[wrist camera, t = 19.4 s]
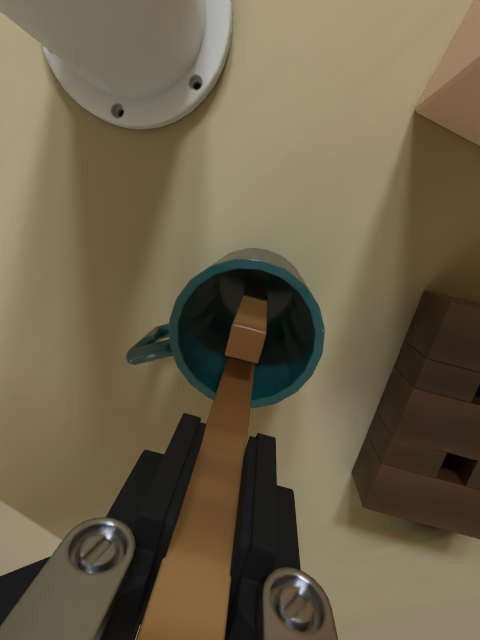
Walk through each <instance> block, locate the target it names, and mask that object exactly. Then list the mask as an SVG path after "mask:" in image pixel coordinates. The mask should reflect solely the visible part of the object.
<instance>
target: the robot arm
mask: <svg viewBox="0 0 480 640" xmlns="http://www.w3.org/2000/svg"><path fill="white" fill-rule="evenodd" d="M0 11H1V12H2V13H3V14H4V15H6V16H7V17H8V18H9V19H11V20H12V21H13V22H15V23H16V24H17V25H18V26H20V27H21V28H22V29H23V30H25V31H26V32H27V33H28V34H30V35H31V36H32V37H33V38H35V39H36V40H37V41H38V42H40V43H41V45H42V48H43V51H44V54H45V57H46V59H47V61H48V63H49V65H50V67H51V69H52V71H53V73H54V75H55V77H56V78H57V79H58V81H59V82H60V84H61V85H62V86H63V88H64V89H65V90H66V92H67V93H68V94H69V95H70V96H71V97H72V98H73V99H74V100H75V101H76V102H77V103H78V104H79V105H81V106H82V107H83V108H85V109H86V110H88V111H89V112H91V113H92V114H94V115H95V116H97V117H99V118H101V119H103V120H104V121H106V122H108V123H111V124H114V125H117V126H120V127H123V128H130V129H140V130H144V129H152V128H159V127H162V126H165V125H168V124H171V123H174V122H176V121H178V120H179V119H181V118H183V117H184V116H186V115H188V114H189V113H191V112H192V111H193V110H194V109H195V108H196V107H197V106H198V105H199V104H200V103H201V102H203V101H204V99H205V98H206V97H207V95H208V94H209V93H210V91H211V90H212V89H213V87H214V86H215V84H216V82H217V80H218V78H219V76H220V74H221V72H222V70H223V68H224V65H225V62H226V59H227V55H228V52H229V49H230V43H231V35H232V27H233V17H232V0H0ZM196 84H201V88H200V89H198V90H195V89H194V87H195V85H196ZM121 111H124V114H123V116H122V117H120V112H121ZM200 420H201V418H200V417H197V416H193V415H189V414H186V413H184V414H183V416H182V418H181V420H180V422H179V424H178V426H177V428H176V431H175V433H174V435H173V437H172V439H171V441H170V444H169V446H168V448H167V450H166V452H165V454H160V453H156V452H153V451H149V450H144V451H143V453H142V454H141V456H140V458H139V459H138V461H137V463H136V465H135V466H134V468H133V470H132V472H131V474H130V475H129V477H128V479H127V481H126V482H125V484H124V486H123V488H122V489H121V491H120V493H119V495H118V496H117V498H116V500H115V502H114V504H113V505H112V507H111V509H110V511H109V512H108V514H107V516H106V517H101V518H93V519H90V520H87V521H84V522H82V523H80V524H79V525H77V526H75V527H74V528H73V529H72V530H71V531H70V532H69V533H68V534H67V535H66V537H65V538H64V539H63V541H62V542H61V543H60V545H59V546H58V548H57V549H56V550H55V552H54V553H53V555H52V556H50V557H48V558H45V559H43V560H40V561H38V562H36V563H33V564H30V565H28V566H25V567H23V568H20V569H18V570H15V571H13V572H10V573H8V574H5V575H3V576H0V640H135V638H136V635H137V632H138V629H139V626H140V625H141V623H142V620H143V617H144V614H145V611H146V607H147V604H148V601H149V598H150V595H151V592H152V589H153V586H154V583H155V580H156V577H157V574H158V571H159V568H160V564H161V561H162V559H163V558H165V557H166V554H167V551H168V548H169V545H170V542H171V539H172V535H173V532H174V529H175V526H176V523H177V520H178V517H179V513H180V510H181V507H182V504H183V501H184V498H185V494H186V491H187V488H188V485H189V482H190V479H191V476H192V472H193V469H194V466H195V463H196V460H197V457H198V454H199V450H200V447H201V444H202V440H203V436H204V432H205V428H206V424H204V423H200ZM230 576H231V578H232V579H231V588H230V597H229V606H228V616H227V625H226V634H225V640H338V637H337V632H336V627H335V622H334V617H333V612H332V608H331V605H330V602H329V599H328V597H327V595H326V594H325V592H324V590H323V589H322V587H321V586H320V585H319V584H318V583H317V582H316V581H315V580H314V579H313V578H312V577H310V576H309V575H308V574H306V573H305V572H303V571H301V570H300V559H299V547H298V535H297V524H296V512H295V501H294V492H293V490H292V489H289V488H285V487H281V486H278V485H277V476H276V439H275V438H274V437H271V436H267V435H263V434H260V433H258V434H257V436H256V437H252V436H250V437H249V440H248V443H247V447H246V450H245V454H244V457H243V465H242V474H241V482H240V491H239V499H238V508H237V516H236V525H235V533H234V542H233V551H232V559H231V568H230Z"/></svg>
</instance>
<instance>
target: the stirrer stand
mask: <svg viewBox="0 0 480 640" xmlns="http://www.w3.org/2000/svg"><path fill="white" fill-rule="evenodd" d="M352 475H353V478H354V481H355V484H356V487H357V490H358V493H359V496H360V499H361V502H362V505H363V508H366V509H370V510H374V511H377V512H381V513H385V514H389V515H392V516H396V517H400V518H403V519H407V520H411V521H414V522H418V523H422V524H425V525H429V526H433V527H437V528H440V529H444V530H448V531H451V532H455V533H459V534H462V535H466V536H470V537H474V538H477V539H480V304H476V303H473V302H469V301H465V300H461V299H457V298H453V297H450V296H446V295H442V294H438V293H434V292H431V291H427V290H424V292H423V295H422V297H421V300H420V302H419V305H418V308H417V310H416V313H415V315H414V318H413V320H412V323H411V325H410V328H409V330H408V333H407V335H406V338H405V341H404V343H403V345H402V348H401V350H400V353H399V355H398V358H397V360H396V363H395V366H394V367H393V370H392V372H391V375H390V377H389V380H388V382H387V385H386V387H385V390H384V392H383V395H382V398H381V400H380V403H379V405H378V408H377V411H376V413H375V415H374V418H373V420H372V423H371V425H370V428H369V431H368V434H367V436H366V438H365V441H364V443H363V446H362V448H361V451H360V453H359V456H358V458H357V461H356V463H355V466H354V468H353V471H352Z"/></svg>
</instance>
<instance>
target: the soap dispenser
mask: <svg viewBox="0 0 480 640" xmlns="http://www.w3.org/2000/svg"><path fill="white" fill-rule="evenodd" d="M415 111H416V113H418V114H420V115H422V116H424V117H426V118H427V119H429V120H431V121H433V122H435V123H437V124H439V125H441V126H443V127H444V128H446V129H448V130H450V131H452V132H454V133H456V134H458V135H460V136H461V137H463V138H465V139H467V140H469V141H471V142H473V143H475V144H477V145H478V146H480V0H475V1H474V3H473V4H472V6H471V8H470V10H469V12H468V13H467V15H466V17H465V19H464V21H463V22H462V24H461V26H460V28H459V30H458V32H457V33H456V35H455V37H454V39H453V41H452V42H451V44H450V46H449V48H448V50H447V51H446V53H445V55H444V57H443V59H442V60H441V62H440V64H439V66H438V68H437V69H436V71H435V73H434V75H433V77H432V78H431V80H430V82H429V84H428V86H427V87H426V89H425V91H424V93H423V95H422V97H421V98H420V100H419V102H418V104H417V106H416V107H415Z"/></svg>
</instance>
